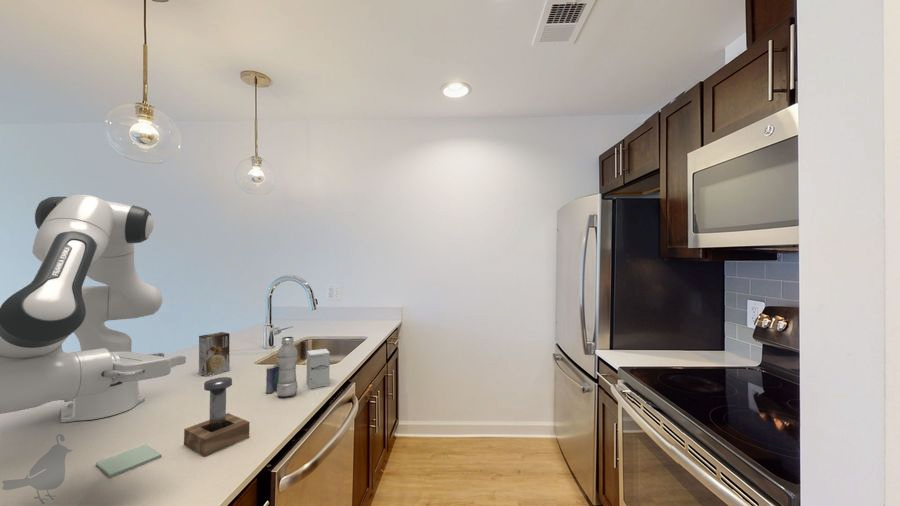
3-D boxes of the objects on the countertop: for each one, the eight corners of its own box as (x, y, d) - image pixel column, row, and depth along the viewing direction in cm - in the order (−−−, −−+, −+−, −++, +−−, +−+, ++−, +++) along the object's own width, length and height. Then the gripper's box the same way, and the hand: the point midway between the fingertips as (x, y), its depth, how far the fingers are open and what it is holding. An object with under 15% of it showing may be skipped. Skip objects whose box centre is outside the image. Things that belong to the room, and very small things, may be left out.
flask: (268, 394, 120) (269, 363, 120) (263, 393, 121) (264, 362, 122) (292, 386, 128) (292, 357, 128) (287, 384, 129) (287, 356, 130)
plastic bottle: (289, 399, 115) (290, 340, 116) (272, 398, 116) (272, 339, 117) (301, 392, 121) (302, 336, 122) (284, 391, 123) (285, 335, 123)
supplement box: (308, 389, 124) (309, 354, 125) (306, 383, 131) (306, 350, 131) (329, 386, 128) (330, 352, 128) (326, 380, 134) (326, 347, 135)
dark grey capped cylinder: (198, 443, 88) (199, 382, 88) (223, 433, 93) (224, 375, 93) (210, 449, 85) (211, 386, 85) (235, 438, 90) (236, 379, 90)
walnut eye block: (183, 444, 87) (184, 428, 87) (227, 427, 96) (228, 413, 96) (204, 456, 82) (205, 439, 82) (249, 437, 91) (249, 421, 91)
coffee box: (222, 368, 149) (222, 331, 150) (229, 371, 146) (230, 333, 146) (197, 374, 141) (198, 335, 142) (205, 377, 138) (206, 337, 138)
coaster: (95, 465, 78) (95, 462, 78) (145, 446, 86) (145, 444, 86) (110, 477, 74) (110, 474, 74) (161, 456, 81) (161, 454, 81)
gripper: (117, 360, 64) (198, 347, 76) (73, 352, 73) (152, 341, 86) (115, 394, 64) (197, 376, 76) (71, 382, 73) (150, 367, 85)
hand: (173, 357), depth 81 cm, fingers open, 8 cm apart
